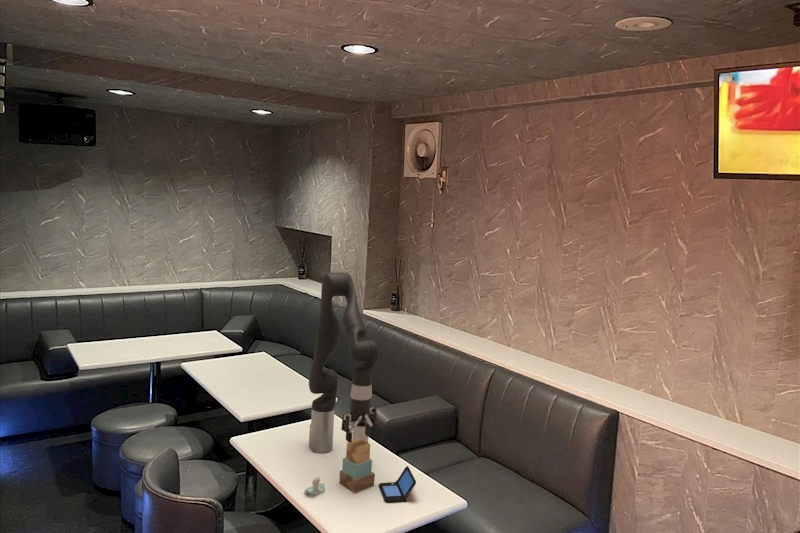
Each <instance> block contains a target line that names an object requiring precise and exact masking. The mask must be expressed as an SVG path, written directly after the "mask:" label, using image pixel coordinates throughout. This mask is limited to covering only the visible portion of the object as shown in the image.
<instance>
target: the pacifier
mask: <svg viewBox="0 0 800 533" xmlns="http://www.w3.org/2000/svg"><path fill="white" fill-rule="evenodd" d="M320 481H321V479H320V477H319V476H315V477H314V478H313V480H312V482H311V484H312V485H310V486H309V487H306V488H305V489H304V490H303V493H304V494H305V495H311V496H316V495H318V494H320V493H322V492H324V490H326V485H325V483H322V482H320Z"/></svg>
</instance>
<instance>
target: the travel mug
mask: <svg viewBox="0 0 800 533" xmlns="http://www.w3.org/2000/svg"><path fill="white" fill-rule="evenodd" d="M368 417H369V419H370V414H369V416H368ZM352 424H354V422H353V421H352ZM365 425H366V423H365V422H364V423H360V424H357V426H356V427H355V428H354V429H353V431H352V441H353V440H356V439H362V440H364V441H366V442H367V443H369V437H368V436H366V435H365Z"/></svg>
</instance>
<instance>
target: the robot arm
mask: <svg viewBox="0 0 800 533" xmlns="http://www.w3.org/2000/svg"><path fill="white" fill-rule="evenodd" d="M320 295H321V296H320V308H319V320H318V323H317V330H316V336H315V347H314V354H313V359H312V363H311V368H310V372H309V378H308V387H309V391H310V393H312V394H313V395H314V394H315V395H318V394H321V395H320V396H318V397H317V398H315V399H314V400H312V402H311V420H310V422H311V423H310V424H309V434H308V439H309V440H308V447H309V450H310V451H312V452H313V453H316V454H326V453H330V452H331V451H332V450H333V443H334V442H333V441H334V440H333V439H334V428H335V427H334V425H335V407H336V406H335V405H336V402H337V395H338V394H337V393H338V384H339V383H338V381H339V380H338V375H337V372H336V370H334V369H332V368H330V369H329V368H327V369H325V368H324V367H325V366H326V363H327V362H328V360H329V358H330V357H331V356H332V355H333V353H335V351H336V350H337V348H338V345H339V344H340V339H341V332H342V327H341V322H340V321H339V318H338V317H337V315H336V313H335V312H334V308H333V297H345V298H344V299H346V305H345V308H344V312H343V314H342V315H343V316H342V323H343V327H344V329H345V333H346V335H347V340H348V341H347V342H348V356H349V357H350V359H351V360H353V361H354V362H362V363H361V364H360V365H357V366H355V367H353V369H352V377H351V387H350V396H349V397H350V398H349V399H350V400H349V408H350V413H347V414H346V413H343V414H342V418H341V420H342V421H341V428H340V429H341V431H343V432H345V441H346V442H349V443H350V442H352V435H353V429H354V428H355V427H356V426H357V424H360V423H364V422H365V423H366V425H365V435H366V436H368V438H369V437H370V436H371V435H372V427H373V425H376V424H377V414H378V413H377V410H378V409H377V408H376V407H374V406H372V397H373V396H372V394H373V386H372V384H373V372H374V369H375V366H376V364H377V361H378V357H379V355H380V354H379V353H380V352H379V351H380V347H379V344H378V343H377V342H376V341H375V340H372V339H370V340H363V339H365V337H366V336H367V334H368V332H367V328H366V325H365V323H364V321H363V318H362V315H361V312H360V309H359V304H358V299H357V293H356V290H355V285H354V280H353V278H352V276H351V275H350V274H349V273H348V272H326V273H325V274H324V275H323V278H322V282H321V294H320ZM369 415H370V419H369V417H368V416H369ZM353 422H354V424H353Z"/></svg>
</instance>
